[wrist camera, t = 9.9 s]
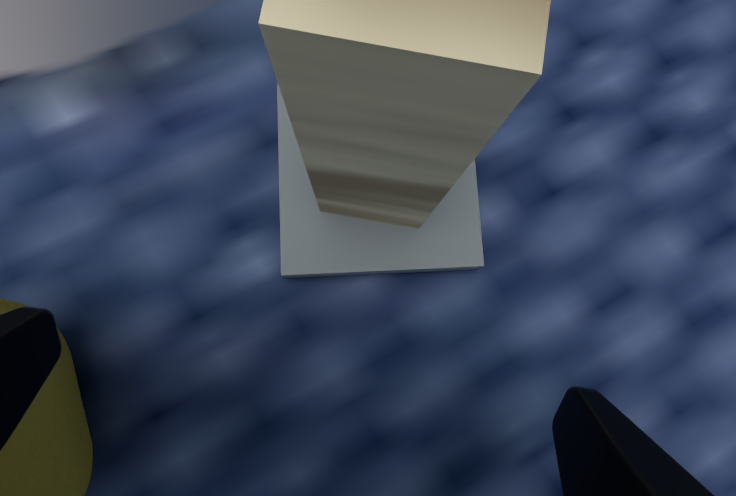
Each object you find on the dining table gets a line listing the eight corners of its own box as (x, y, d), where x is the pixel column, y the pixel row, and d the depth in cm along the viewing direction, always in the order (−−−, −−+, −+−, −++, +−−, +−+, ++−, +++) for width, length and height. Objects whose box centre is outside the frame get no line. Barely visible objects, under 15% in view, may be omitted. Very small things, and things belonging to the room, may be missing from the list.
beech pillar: (418, 228, 20) (541, 74, 7) (320, 211, 20) (257, 23, 7) (433, 135, 20) (570, -165, 8) (338, 118, 20) (312, -214, 8)
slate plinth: (474, 269, 21) (484, 266, 20) (286, 277, 21) (281, 275, 19) (460, 93, 22) (467, 77, 21) (282, 98, 22) (277, 83, 21)
